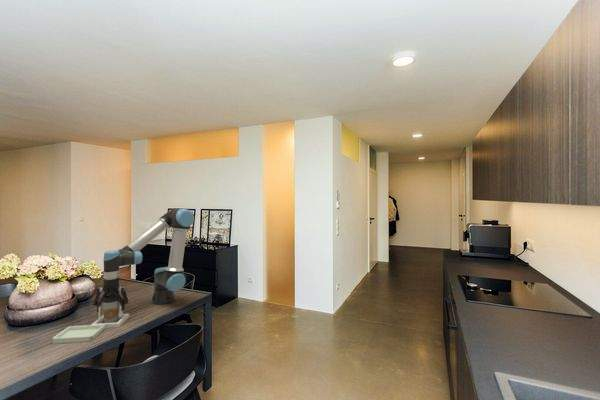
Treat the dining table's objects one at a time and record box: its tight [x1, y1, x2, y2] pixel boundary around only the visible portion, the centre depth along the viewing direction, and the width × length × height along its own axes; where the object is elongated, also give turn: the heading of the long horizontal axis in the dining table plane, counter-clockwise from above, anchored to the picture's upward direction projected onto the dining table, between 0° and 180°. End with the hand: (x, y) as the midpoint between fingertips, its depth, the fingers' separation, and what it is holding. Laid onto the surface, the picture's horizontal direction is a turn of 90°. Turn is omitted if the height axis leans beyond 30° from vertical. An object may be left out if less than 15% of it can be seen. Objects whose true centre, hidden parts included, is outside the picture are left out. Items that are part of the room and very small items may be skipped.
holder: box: [90, 313, 130, 329], centre depth 164 cm, size 14×14×2 cm
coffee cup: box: [102, 294, 120, 323], centre depth 164 cm, size 8×8×15 cm
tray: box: [50, 324, 107, 345], centre depth 148 cm, size 18×14×2 cm
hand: (110, 316), depth 164 cm, fingers open, 10 cm apart
